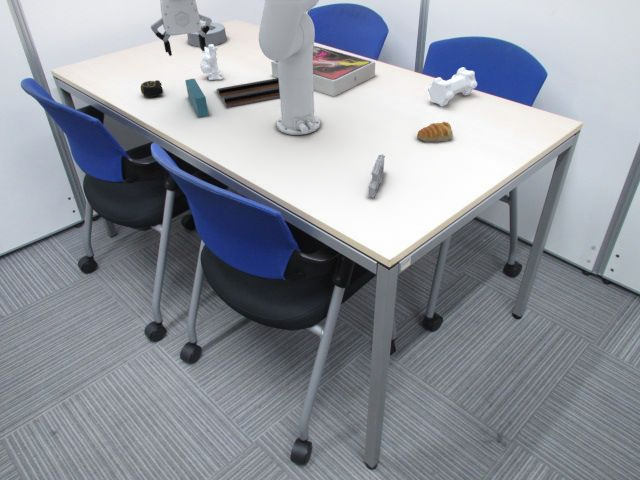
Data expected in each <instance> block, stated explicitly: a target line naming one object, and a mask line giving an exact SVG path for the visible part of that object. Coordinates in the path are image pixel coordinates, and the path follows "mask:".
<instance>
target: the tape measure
mask: <svg viewBox="0 0 640 480" xmlns="http://www.w3.org/2000/svg"><path fill="white" fill-rule="evenodd" d="M140 93H141V94H142V95H143V96H144V97H150V98H153V97H157V96H161V95H163V94H164V89H163V86H162V82H161V81H160V80H159V79H157V80H147V81H144V82H142V83H141V84H140Z"/></svg>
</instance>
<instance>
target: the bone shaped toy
mask: <svg viewBox="0 0 640 480" xmlns="http://www.w3.org/2000/svg"><path fill="white" fill-rule="evenodd" d="M475 75H476V73H475V71H474V70H468V69H466V67H463V66H462V67H460V68H458V69H457V70H456V73H455V74H453V75H452V76H451V78H450V79H447V80H444V79H443V78H442V77H440V76H438V77H436V78H434V80H433V81H432V84H430V85H428V87H427V92H428V94H429V96H430V102H431V103H433V104H438V105H439V107H445V106H447V105H448V103H449V101H450V100H452V99H453V98H454V97H455V95H456V94H459V93H460V94H462V95H463V96H468V95H470V94H471V93H472V90H474V89H476V88H477V86H478V81H476V76H475Z"/></svg>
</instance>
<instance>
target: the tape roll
mask: <svg viewBox="0 0 640 480" xmlns="http://www.w3.org/2000/svg"><path fill="white" fill-rule="evenodd" d="M200 23H201V22H200ZM205 23H206V22H202V23H201V29H203V27H204V26H205ZM226 33H227V32H226V27H225V24H223V23H220V22H211V25H210V29H209V31H208V32H207V33H206V36H205V43H206V47H207V48H208V45H210V44H213V45H214V46H217V45H221V44H223V43H225V42H226V41H227V34H226ZM198 35H199V33H198V32H195V33H189V34H186V36H187V41H188V44H189V45H190V46H193V47H199V48H200V43H199V37H198Z"/></svg>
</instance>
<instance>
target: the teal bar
mask: <svg viewBox="0 0 640 480" xmlns="http://www.w3.org/2000/svg"><path fill="white" fill-rule="evenodd" d="M185 87H186V91H187V97H188V99H189V102H190V104H191V106H192V107H193V110H194V111H195V113H196V115H197V117H198V118H204V117H208V116H209V110H208V104H207V97H206V95H205V94H204V92H203V90H202V88H201V87H200V85H199V84H198V81H197V80H196V79H195V78H189V79H185Z"/></svg>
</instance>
